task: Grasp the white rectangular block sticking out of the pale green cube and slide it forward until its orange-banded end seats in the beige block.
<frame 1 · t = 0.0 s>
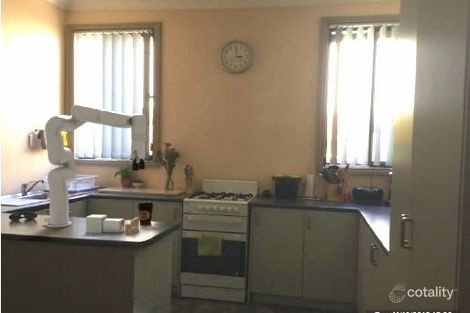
hand: (138, 169, 224), 31 cm above the countertop, fingers open, 9 cm apart
pale green cube: (96, 231, 217), on the countertop
coffee cup: (145, 225, 233), on the countertop
beige block: (132, 232, 215), on the countertop
white rectangular block: (106, 225, 217), point 3 cm above the countertop, slide at 0.0 cm
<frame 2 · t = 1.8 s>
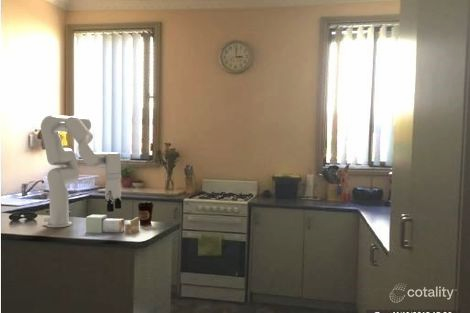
hand: (114, 209, 216), 11 cm above the countertop, fingers open, 9 cm apart
nothing on the countertop moved.
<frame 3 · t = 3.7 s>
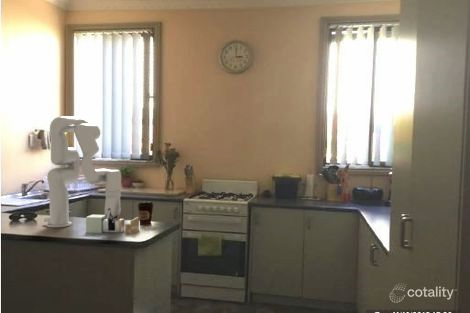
hand: (113, 228, 216), 1 cm above the countertop, fingers closed on white rectangular block, 4 cm apart
white rectangular block: (106, 225, 217), point 3 cm above the countertop, slide at 0.0 cm, touching gripper
everything else where it was.
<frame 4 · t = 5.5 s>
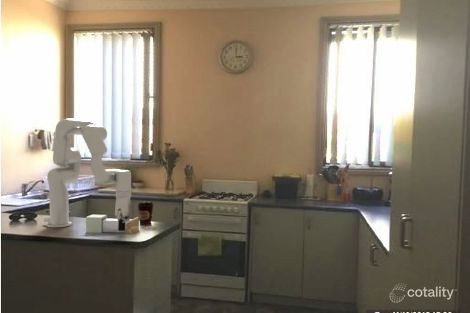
hand: (123, 229, 216), 1 cm above the countertop, fingers closed on white rectangular block, 4 cm apart
white rectangular block: (117, 225, 216), point 3 cm above the countertop, slide at 5.4 cm, touching gripper
everything else where it was.
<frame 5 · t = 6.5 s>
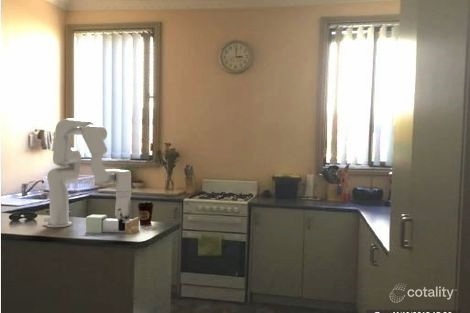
hand: (123, 229, 216), 1 cm above the countertop, fingers closed on white rectangular block, 4 cm apart
white rectangular block: (117, 225, 216), point 3 cm above the countertop, slide at 5.5 cm, touching gripper
everything else where it was.
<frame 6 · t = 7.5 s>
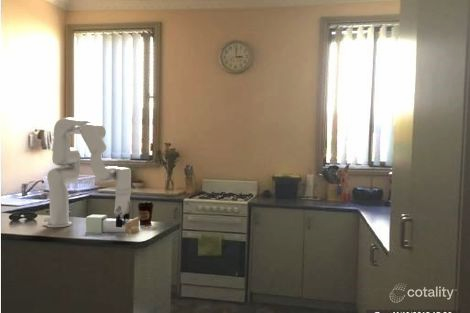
hand: (122, 225, 216), 4 cm above the countertop, fingers open, 9 cm apart
white rectangular block: (117, 225, 216), point 3 cm above the countertop, slide at 5.5 cm
everything else where it was.
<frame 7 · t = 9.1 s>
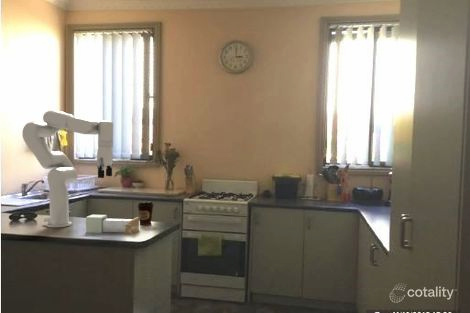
hand: (105, 176, 222), 28 cm above the countertop, fingers open, 9 cm apart
nothing on the countertop moved.
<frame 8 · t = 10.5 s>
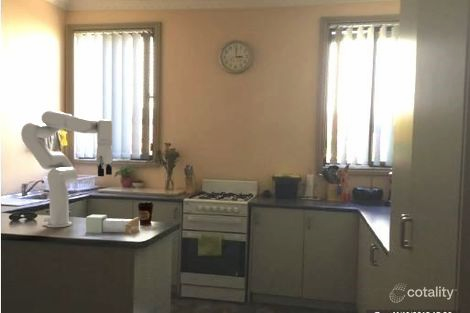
hand: (105, 175, 222), 28 cm above the countertop, fingers open, 9 cm apart
nothing on the countertop moved.
at the end: white rectangular block slide at 5.5 cm; the gripper is holding nothing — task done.
